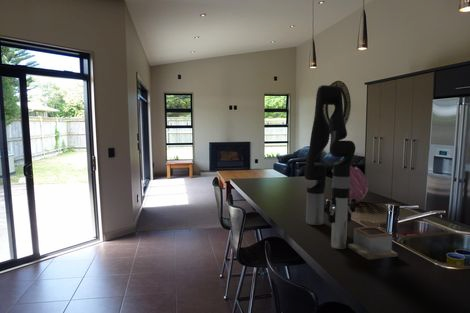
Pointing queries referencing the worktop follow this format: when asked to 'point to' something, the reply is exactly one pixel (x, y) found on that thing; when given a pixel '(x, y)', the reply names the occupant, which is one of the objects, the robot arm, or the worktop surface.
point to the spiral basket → (355, 186)
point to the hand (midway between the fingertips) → (339, 222)
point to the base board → (372, 256)
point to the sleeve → (372, 240)
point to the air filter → (339, 224)
